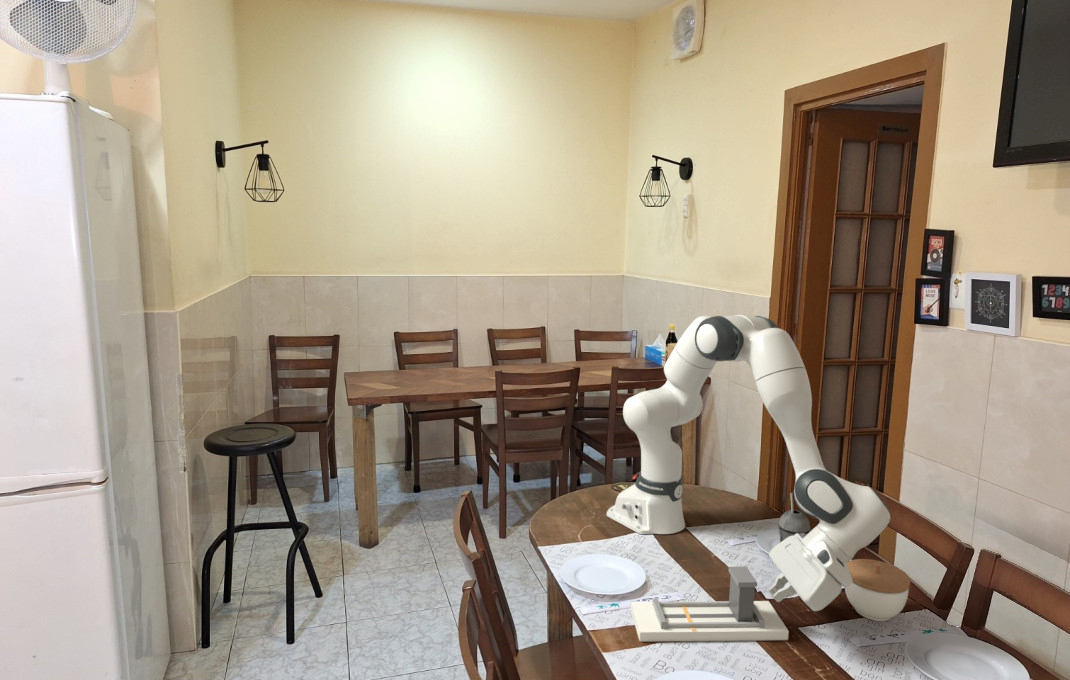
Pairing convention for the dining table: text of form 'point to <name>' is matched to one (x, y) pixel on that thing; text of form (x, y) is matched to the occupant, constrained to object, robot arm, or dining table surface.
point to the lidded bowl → (877, 589)
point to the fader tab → (741, 593)
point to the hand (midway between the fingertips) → (772, 596)
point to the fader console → (704, 622)
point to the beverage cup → (793, 523)
